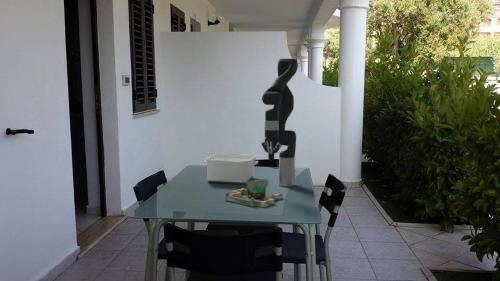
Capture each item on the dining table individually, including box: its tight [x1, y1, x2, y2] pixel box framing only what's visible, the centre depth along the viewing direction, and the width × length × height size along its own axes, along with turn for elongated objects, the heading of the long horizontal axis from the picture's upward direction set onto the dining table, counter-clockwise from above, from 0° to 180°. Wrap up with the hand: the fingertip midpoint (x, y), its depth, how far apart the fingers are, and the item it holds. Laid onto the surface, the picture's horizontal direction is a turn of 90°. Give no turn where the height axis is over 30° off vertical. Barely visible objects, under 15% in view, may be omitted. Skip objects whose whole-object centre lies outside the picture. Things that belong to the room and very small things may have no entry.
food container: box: [245, 177, 269, 200], centre depth 243 cm, size 12×6×10 cm, turn 105°
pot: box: [204, 153, 259, 185], centre depth 289 cm, size 34×29×15 cm
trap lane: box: [224, 188, 283, 208], centre depth 241 cm, size 24×28×4 cm
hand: (271, 160), depth 249 cm, fingers closed
